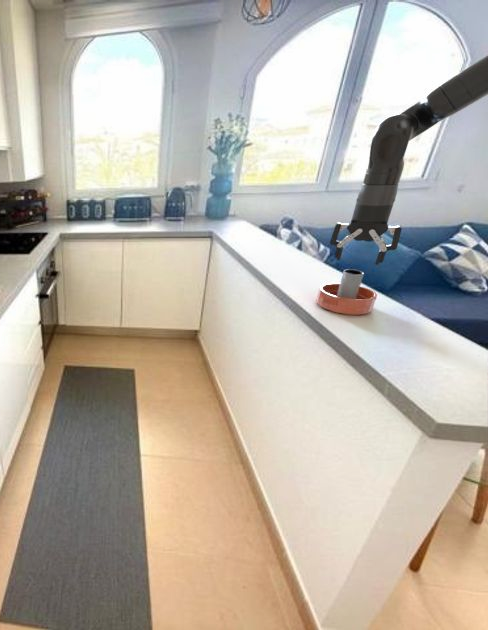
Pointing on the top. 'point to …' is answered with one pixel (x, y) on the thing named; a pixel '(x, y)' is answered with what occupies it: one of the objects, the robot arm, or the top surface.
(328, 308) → the bowl
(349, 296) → the grey cylinder
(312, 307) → the top surface
